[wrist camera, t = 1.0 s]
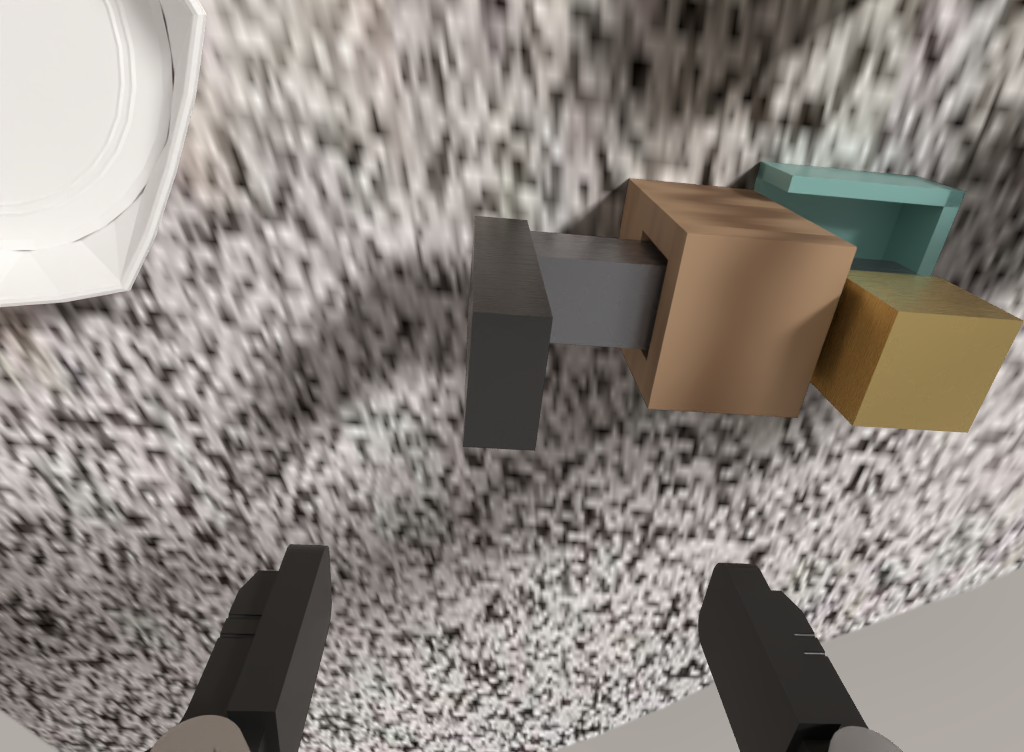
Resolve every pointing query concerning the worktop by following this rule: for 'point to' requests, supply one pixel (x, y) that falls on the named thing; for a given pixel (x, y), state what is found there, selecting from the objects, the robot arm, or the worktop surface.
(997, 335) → the block
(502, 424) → the grey l-shaped block
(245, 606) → the robot arm
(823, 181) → the tray
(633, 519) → the worktop surface
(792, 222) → the block
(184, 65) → the pan
